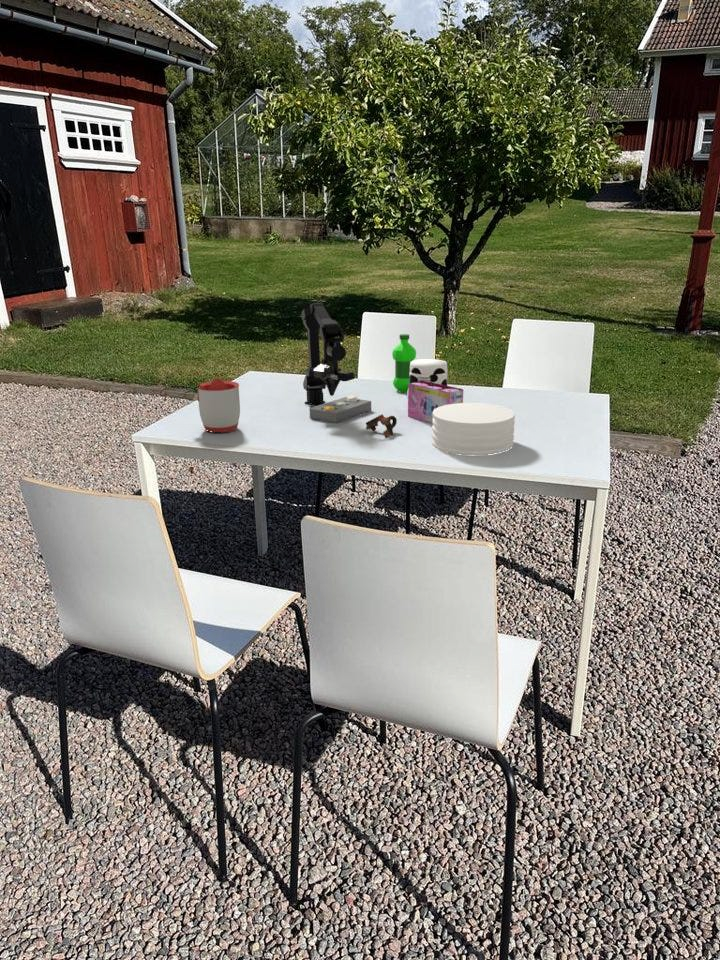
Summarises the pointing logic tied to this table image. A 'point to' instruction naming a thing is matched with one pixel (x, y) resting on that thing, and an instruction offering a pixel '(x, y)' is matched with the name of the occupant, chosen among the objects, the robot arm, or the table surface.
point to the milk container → (428, 371)
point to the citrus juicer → (219, 405)
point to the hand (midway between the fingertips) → (331, 395)
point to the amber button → (329, 408)
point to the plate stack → (473, 428)
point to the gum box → (430, 398)
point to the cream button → (352, 399)
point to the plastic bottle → (403, 363)
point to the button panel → (340, 410)
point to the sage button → (341, 404)
